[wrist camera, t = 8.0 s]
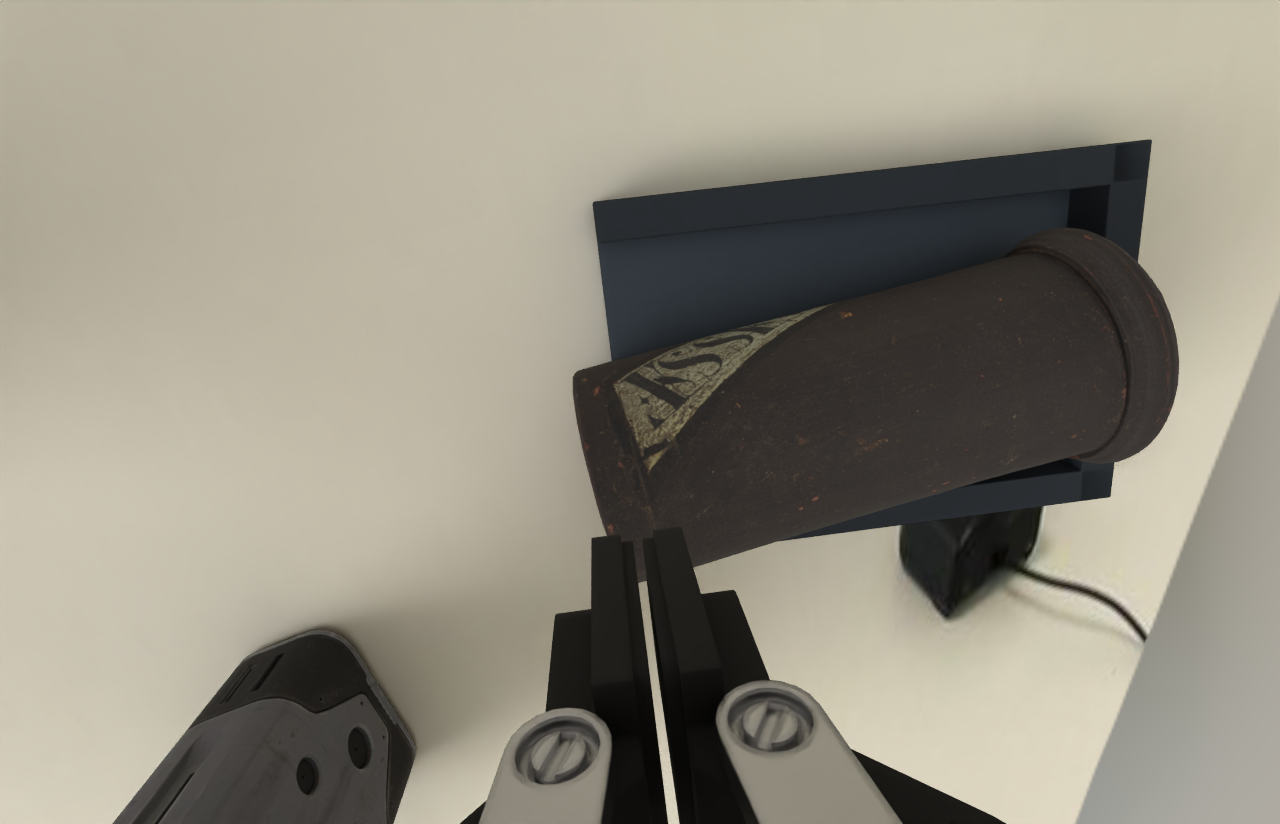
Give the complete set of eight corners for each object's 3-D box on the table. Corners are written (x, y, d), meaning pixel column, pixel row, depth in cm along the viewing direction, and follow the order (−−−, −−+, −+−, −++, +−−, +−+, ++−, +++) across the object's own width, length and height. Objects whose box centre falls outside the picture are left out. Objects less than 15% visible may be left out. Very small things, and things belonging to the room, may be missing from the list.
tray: (633, 534, 30) (637, 560, 28) (592, 203, 26) (592, 201, 24) (1070, 476, 31) (1110, 497, 29) (1102, 146, 27) (1152, 138, 24)
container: (592, 404, 30) (1006, 287, 30) (640, 596, 27) (1097, 471, 27) (548, 329, 22) (1121, 166, 21) (611, 593, 19) (1268, 413, 19)
